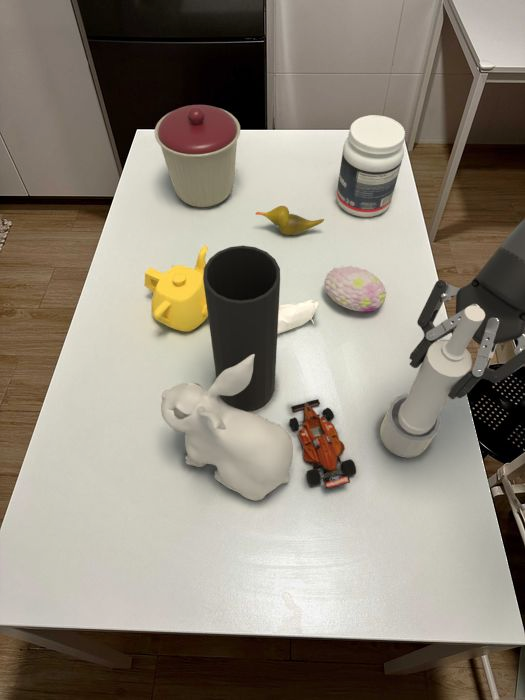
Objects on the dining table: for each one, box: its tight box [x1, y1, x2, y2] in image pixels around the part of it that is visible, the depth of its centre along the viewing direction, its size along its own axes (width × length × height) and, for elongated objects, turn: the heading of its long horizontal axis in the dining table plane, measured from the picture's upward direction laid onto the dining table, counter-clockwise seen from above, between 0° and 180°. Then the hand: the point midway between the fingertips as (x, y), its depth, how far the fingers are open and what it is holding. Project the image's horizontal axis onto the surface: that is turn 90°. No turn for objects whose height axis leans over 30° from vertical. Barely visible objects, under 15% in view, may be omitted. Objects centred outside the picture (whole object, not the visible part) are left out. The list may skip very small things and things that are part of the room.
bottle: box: [398, 306, 485, 434], centre depth 63 cm, size 5×5×25 cm
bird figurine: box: [277, 298, 320, 335], centre depth 98 cm, size 5×7×10 cm
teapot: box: [144, 245, 209, 332], centre depth 98 cm, size 14×13×10 cm
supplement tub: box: [335, 114, 406, 218], centre depth 113 cm, size 13×13×18 cm
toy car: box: [289, 398, 357, 490], centre depth 85 cm, size 8×16×4 cm, turn 15°
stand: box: [379, 393, 442, 458], centre depth 85 cm, size 8×8×7 cm
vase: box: [203, 245, 281, 412], centre depth 80 cm, size 10×10×30 cm
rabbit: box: [160, 354, 294, 501], centre depth 75 cm, size 12×21×25 cm, turn 67°
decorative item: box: [323, 265, 387, 313], centre depth 101 cm, size 9×11×10 cm
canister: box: [154, 104, 241, 208], centre depth 114 cm, size 18×18×21 cm
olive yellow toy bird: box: [255, 205, 325, 236], centre depth 112 cm, size 4×15×6 cm, turn 86°
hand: (432, 381), depth 62 cm, fingers closed on bottle, 5 cm apart
